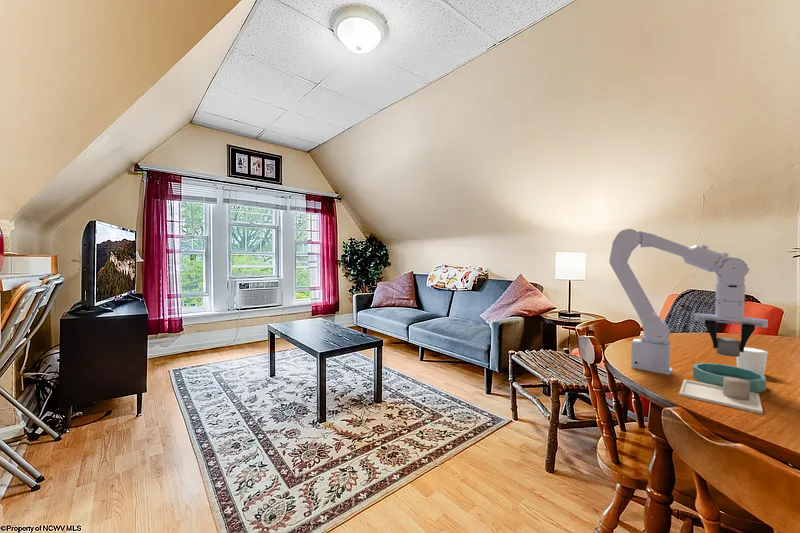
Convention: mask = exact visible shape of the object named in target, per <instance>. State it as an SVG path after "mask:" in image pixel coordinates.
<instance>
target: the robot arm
mask: <svg viewBox="0 0 800 533" xmlns="http://www.w3.org/2000/svg"><path fill="white" fill-rule="evenodd" d="M638 245H640V248H654V249H657V250H661V251H663V252H666V253H669V254H673V255H675V256H679V257H681V258H682V259H683V260H684V263H686V264H687V265H689V266H690V265H691V266H692V267H695V268H698V269H700V270H704V271H707V272H709V273H715V274H716V284H715V305H714V306H715V307H714V312H715V313H713V314H712V313H699V312H698V313H697V312H695V313H694V314H693V321H698V322H700V321H701V322H702V321H703V322H704V325H705V328H706V329H707V331H708V334H709V335H710V338H711V341H712V345H713V349H717V338H718V334H717V332H718V323H723V324H730V325H740V326H741V333H740V334H741V335H740V336H741V337H740V352H744V347H746V345H747V342H748V340H749V339H750V337H751V335H752V334H753V332H755V330H756V327H759V328H760V327H761V328H765V329H768V328H769V320H768V319H763V318H755V317H749V316H748V317H747V316H745V294H746V285H745V282H746V281H745V280H746V279H745V278H746V277H747V275H748V273H749V271H750V268H749V266H748V264H747V263H746V262H745V260H743V259H741V258H738V257H731V256H729V253H727V252H723V253H721V252H718V251H715V250H713V249H709V246H707V245H704V244H702V245H701V246H700V245H698V244H695V245H693V246H686V245H683V244H680V243H677V242H675V241H672V240H670V239H667V238H664V237H661V236H659V235H657V234H653V233H649V232H645V231H641V230H638V231H637V230H636V229H633V228H624V229H621V231H619V232H618V233H617V235H616V236H615V237H614V239H613V241H612V245H611V250H610V257H609V261H608V262H609V265H610V267H611V268H612V270H613V273H614V274H615V275H616V277H617V279H618V281H619V283H620V284H621V287H622V288H623V290H624V292H625V294H626V295H627V297H628V299H629V301H630V303H631V305H632V306H633V308H634V310H635V312H636V314H637V316H638V318H639V320H640V322H641V324H642V325H641V326H642V330H643V335H642V336H640V338H633V340H632V342H631V358H630V360H631V361H630V364H631V365H630V368H633V369H639V370H643V371H644V370H645V371H648V372H654V373H658V374H664V375H671V372H672V371H673V367H670V366H671V365H670V364H671V340H669V338H670V336H671V329H670V328H669V326H668V324H667V323H666V321H665V320H664V319H662V318H661V317H660V316H658V314H657V312H656V310H655V308H654V307H653V306H652V303H651V302H650V299H649V298H648V297H647V294H646V293H645V291H644V290H643V287H642V285H641V283H640V282H639V281H638V279H637V277H636V275H635V274H634V272H633V270H632V268H631V266H630V265H629V263H628V262H629V259H630V257H631V255H632V252H633V251H634V250H635V249H636V248H637V247H638Z"/></svg>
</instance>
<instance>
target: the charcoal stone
mask: <svg viewBox="0 0 800 533" xmlns="http://www.w3.org/2000/svg"><path fill="white" fill-rule="evenodd" d="M740 343H741V340H739V339H735V338H729V337H717V348H716V354H719V355H722V356H726V357H735V358H736V357H738V356H740Z"/></svg>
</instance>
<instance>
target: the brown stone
mask: <svg viewBox="0 0 800 533" xmlns="http://www.w3.org/2000/svg"><path fill="white" fill-rule="evenodd" d="M723 395H725V396H727V397H730V398H733V399H738V400H749V398H750V382H749V381H747V380H744V379H740V378H735V377H724V378H723Z"/></svg>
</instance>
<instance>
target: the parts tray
mask: <svg viewBox="0 0 800 533" xmlns="http://www.w3.org/2000/svg"><path fill="white" fill-rule="evenodd" d="M678 396H680V397H685V398H688V399H689V398H690V399H694V400H696V401H697V400H698V401H700V402H701V401H702V402H707V403H710V404H714V405H715V404H716V405H719V406H724V407H725V406H726V407H728V408H734V409H738V410H743V411H746V412H752V413H755V414H760V415H763V414H764V413H763V412H764V411H763V406H762V402H761V398H760V393H758V392H757V393H753V392H750V398H749V400H738V399H733V398H730V397H727V396H725V395H723V387H721V386H716V385H711V384H706V383H703V382H700V381H696V380H695V381H694V380H689V379H685V378H684V379H683V382H682V385H681V387H680V389H679V392H678Z"/></svg>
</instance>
